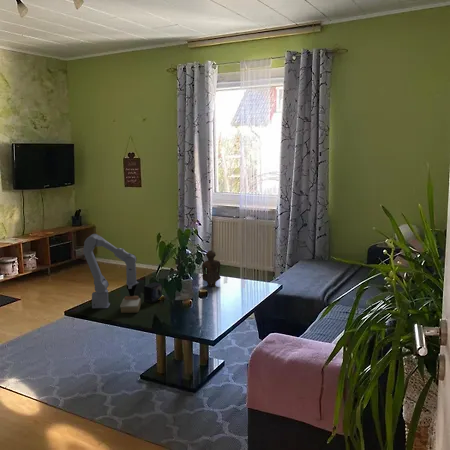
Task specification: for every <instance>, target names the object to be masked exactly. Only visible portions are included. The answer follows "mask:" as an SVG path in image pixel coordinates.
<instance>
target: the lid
mask: <svg viewBox="0 0 450 450" xmlns="http://www.w3.org/2000/svg"><path fill="white" fill-rule="evenodd" d="M140 299H141V298H140V297H139V295H134V296H130V295H125V296H124V298H123V299H122V301H121V303H120V305H119V308H121V307H138V305H139V302H140Z"/></svg>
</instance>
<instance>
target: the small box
mask: <svg viewBox="0 0 450 450" xmlns="http://www.w3.org/2000/svg"><path fill="white" fill-rule="evenodd" d="M162 285H163V284H162V283H159V282H156V281H154V282H151V283H149V284H146V285H143V302H144V303H147V304H154V303H157V302H159V301H158V299H159V298H160V297H161V296H162V297H163V286H162Z"/></svg>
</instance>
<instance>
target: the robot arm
mask: <svg viewBox="0 0 450 450" xmlns="http://www.w3.org/2000/svg"><path fill="white" fill-rule="evenodd" d="M83 244H84V245H83V249H82V252H83V256H84V257H85V260H86V262H87V265H88V267H89V269H90V273H91V275H92V277H93V286H94V291H93V292H92V294H91V309H108V308H109V307H110V305H111V302H109V290H108V287H109V285H110V284H109V282H108V280H107V279H106V278H105V276H104V275H103V274H102V272H101V271H102V270H101V269H100V266H99V264H98V261H97V259H96V256H95V253H94V250H95V248H97V247H102V248H105V249H106V250H108V251H110V252H112V253H113V254H114V257H116V258H117V259H119V260H121V261H122V262H124V264H125V267H126V268H125V270H126V271H125V272H126V273H125V275H126V289H127V291H128V293H129V294H128V296H135V293H136V287H138V286H137V285H138V284H139V281H137V264H136V263H137V257H136V255H135V254H132V253H131V252H128V251H126V250H125V248H123V247H122V248H121V247H117V246H115V245H113V243H110V242H109V241H108V240H106V239H105V238H104V237H103V236H101V235H99V234H97V233H92V234H90V235H89V236H88V237H86V238H85V240H84V242H83Z"/></svg>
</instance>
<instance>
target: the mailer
mask: <svg viewBox="0 0 450 450" xmlns="http://www.w3.org/2000/svg"><path fill="white" fill-rule="evenodd" d="M141 307H142V298H140V302H139V305H138V307H120V313H121V314H124V313H125V314H126V313H129V314H130V313H131V314H133V313H135V314H136V313H137V314H138V313H139V312H140V309H141Z"/></svg>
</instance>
